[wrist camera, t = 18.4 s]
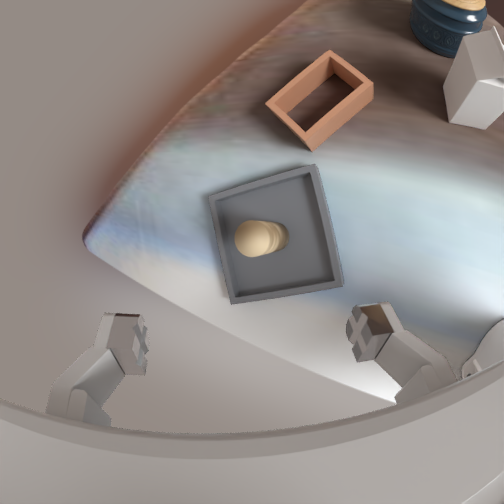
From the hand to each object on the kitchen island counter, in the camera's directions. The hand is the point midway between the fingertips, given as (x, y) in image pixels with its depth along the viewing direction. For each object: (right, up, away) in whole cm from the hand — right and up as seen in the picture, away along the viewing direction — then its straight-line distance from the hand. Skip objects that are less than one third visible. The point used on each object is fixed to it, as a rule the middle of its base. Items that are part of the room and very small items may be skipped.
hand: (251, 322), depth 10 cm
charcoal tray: (+4, +5, +35) cm, 35 cm away
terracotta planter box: (+12, +26, +30) cm, 42 cm away
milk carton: (+34, +26, +21) cm, 48 cm away
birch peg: (+4, +5, +34) cm, 34 cm away
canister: (+35, +42, +20) cm, 58 cm away
